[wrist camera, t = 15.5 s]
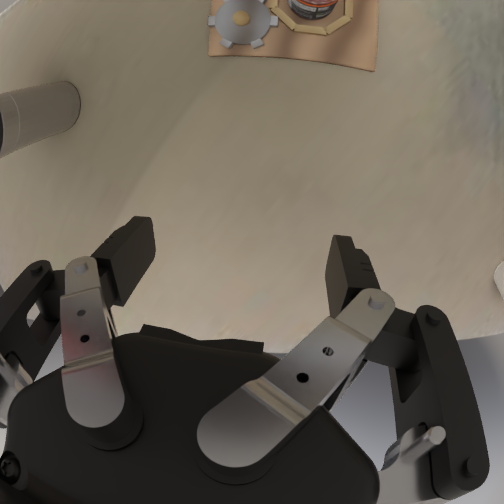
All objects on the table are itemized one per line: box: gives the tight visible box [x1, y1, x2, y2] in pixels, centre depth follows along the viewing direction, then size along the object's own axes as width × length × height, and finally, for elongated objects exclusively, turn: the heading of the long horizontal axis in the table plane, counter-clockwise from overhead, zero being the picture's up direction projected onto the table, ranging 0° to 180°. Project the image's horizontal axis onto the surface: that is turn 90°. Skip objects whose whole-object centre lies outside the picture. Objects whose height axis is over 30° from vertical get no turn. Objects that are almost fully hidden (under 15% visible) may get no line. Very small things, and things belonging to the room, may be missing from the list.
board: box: [208, 0, 378, 72], centre depth 26 cm, size 22×16×4 cm
